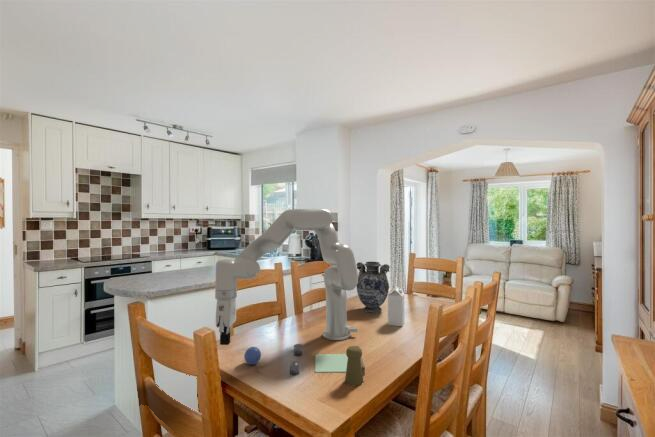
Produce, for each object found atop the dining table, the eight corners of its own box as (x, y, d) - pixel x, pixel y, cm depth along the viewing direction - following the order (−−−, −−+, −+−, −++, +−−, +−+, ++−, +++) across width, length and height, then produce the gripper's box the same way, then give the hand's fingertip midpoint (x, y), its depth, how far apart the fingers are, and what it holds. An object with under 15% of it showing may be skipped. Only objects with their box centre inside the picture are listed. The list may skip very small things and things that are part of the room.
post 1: (302, 352, 123) (302, 343, 123) (301, 356, 120) (301, 347, 120) (294, 352, 123) (294, 344, 123) (293, 356, 120) (293, 347, 120)
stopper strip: (358, 352, 123) (358, 345, 123) (364, 374, 105) (364, 367, 105) (353, 352, 123) (353, 345, 123) (358, 374, 105) (358, 367, 105)
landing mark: (351, 354, 121) (351, 353, 121) (355, 371, 107) (355, 371, 107) (315, 354, 121) (315, 354, 121) (314, 372, 107) (314, 371, 107)
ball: (262, 359, 117) (262, 344, 117) (259, 367, 111) (259, 350, 111) (246, 360, 116) (246, 344, 116) (242, 367, 110) (242, 350, 110)
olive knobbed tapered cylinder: (343, 376, 104) (343, 344, 104) (361, 376, 104) (361, 343, 104) (346, 386, 98) (346, 351, 98) (365, 385, 98) (365, 350, 98)
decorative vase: (348, 310, 179) (348, 262, 179) (363, 304, 194) (364, 259, 194) (382, 317, 167) (383, 265, 167) (395, 309, 182) (396, 262, 182)
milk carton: (387, 325, 155) (387, 287, 155) (390, 320, 161) (390, 284, 161) (402, 327, 152) (402, 288, 152) (404, 322, 158) (404, 285, 159)
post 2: (299, 371, 108) (299, 361, 108) (298, 375, 105) (298, 365, 105) (290, 371, 108) (290, 361, 108) (289, 375, 105) (289, 365, 105)
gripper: (230, 298, 106) (229, 352, 106) (241, 289, 121) (240, 336, 121) (208, 298, 106) (207, 352, 105) (222, 289, 121) (221, 336, 120)
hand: (225, 343), depth 113 cm, fingers closed
